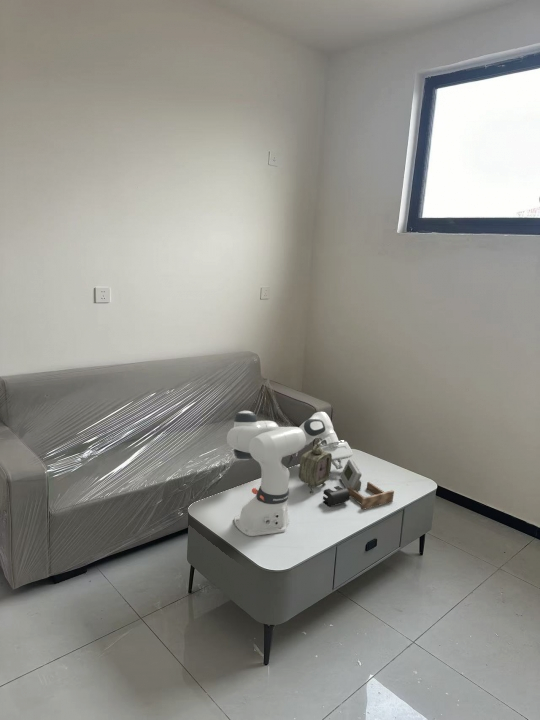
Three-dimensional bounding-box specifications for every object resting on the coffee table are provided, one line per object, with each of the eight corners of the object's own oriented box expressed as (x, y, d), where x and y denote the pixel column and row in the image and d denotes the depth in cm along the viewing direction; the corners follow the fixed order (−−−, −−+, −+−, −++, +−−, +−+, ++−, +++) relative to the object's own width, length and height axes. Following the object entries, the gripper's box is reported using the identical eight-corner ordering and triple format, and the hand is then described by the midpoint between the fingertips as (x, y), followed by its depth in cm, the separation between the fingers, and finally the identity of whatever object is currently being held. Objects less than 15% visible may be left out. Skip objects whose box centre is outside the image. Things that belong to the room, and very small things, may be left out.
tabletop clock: (312, 496, 226) (317, 445, 220) (295, 489, 231) (300, 439, 225) (328, 485, 237) (334, 436, 231) (312, 479, 242) (317, 431, 236)
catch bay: (362, 509, 218) (363, 499, 217) (342, 494, 230) (343, 484, 228) (392, 501, 227) (394, 491, 226) (372, 487, 239) (373, 477, 238)
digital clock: (339, 477, 247) (342, 457, 244) (358, 479, 246) (360, 459, 244) (341, 493, 231) (344, 472, 229) (361, 495, 231) (364, 474, 228)
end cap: (332, 510, 216) (333, 496, 214) (321, 502, 221) (323, 488, 220) (349, 505, 221) (351, 491, 220) (338, 497, 227) (340, 484, 225)
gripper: (342, 442, 259) (352, 467, 253) (310, 447, 248) (320, 474, 242) (349, 437, 254) (359, 462, 248) (316, 442, 243) (326, 469, 238)
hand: (339, 468), depth 245 cm, fingers closed
